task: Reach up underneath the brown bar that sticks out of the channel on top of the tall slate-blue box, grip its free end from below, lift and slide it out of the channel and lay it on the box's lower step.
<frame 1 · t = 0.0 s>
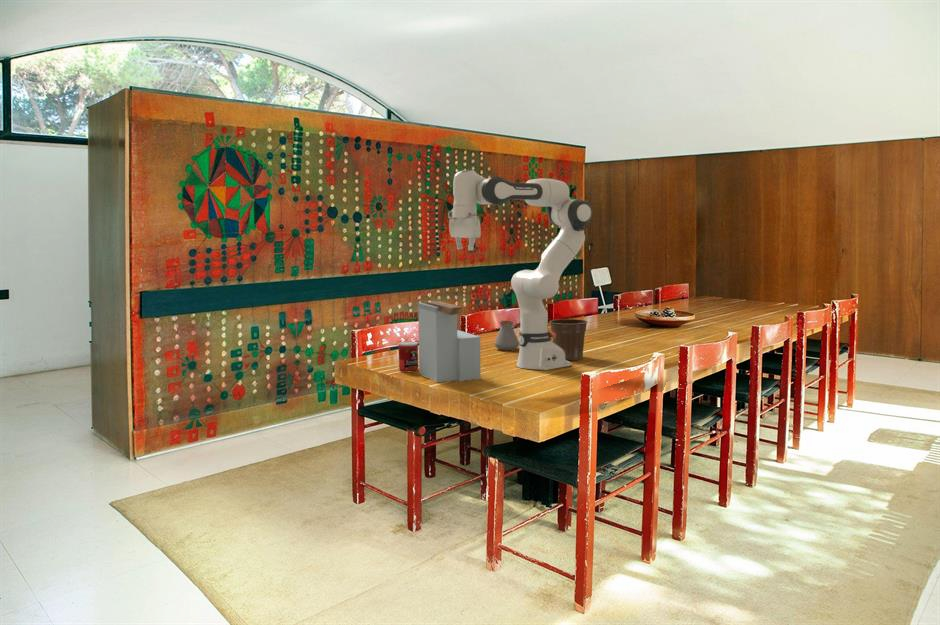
hand: (465, 249, 271), 48 cm above the table, tool pointing down, fingers open, 8 cm apart
plant pot: (568, 358, 308), on the table
coffee pot: (512, 351, 325), on the table
canned food: (408, 370, 285), on the table
brown bar: (443, 311, 263), point 26 cm above the table, touching step box
step box: (447, 375, 274), on the table
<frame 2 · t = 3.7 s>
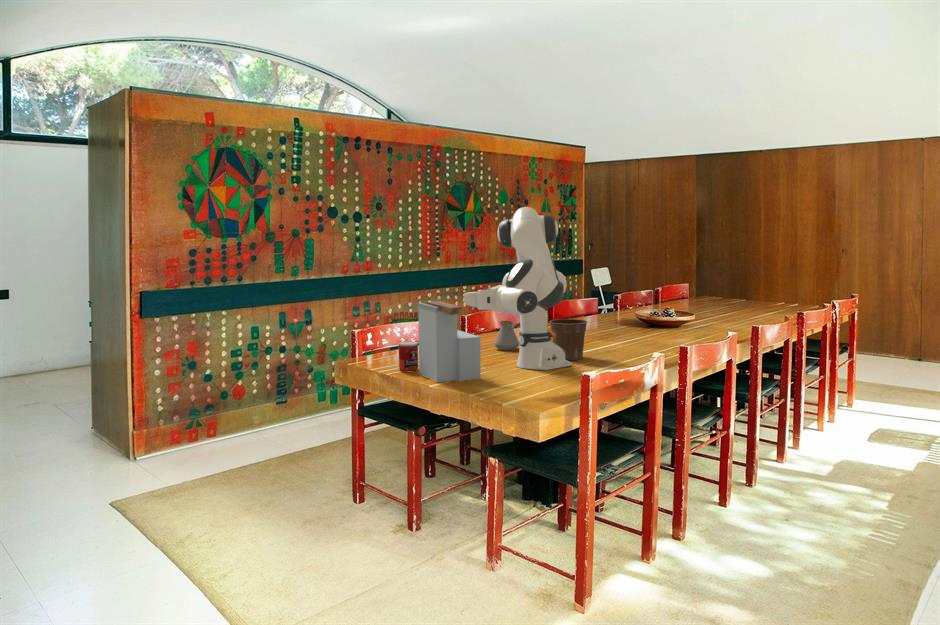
hand: (483, 295, 243), 33 cm above the table, tool horizontal, fingers open, 8 cm apart
nothing on the table moved.
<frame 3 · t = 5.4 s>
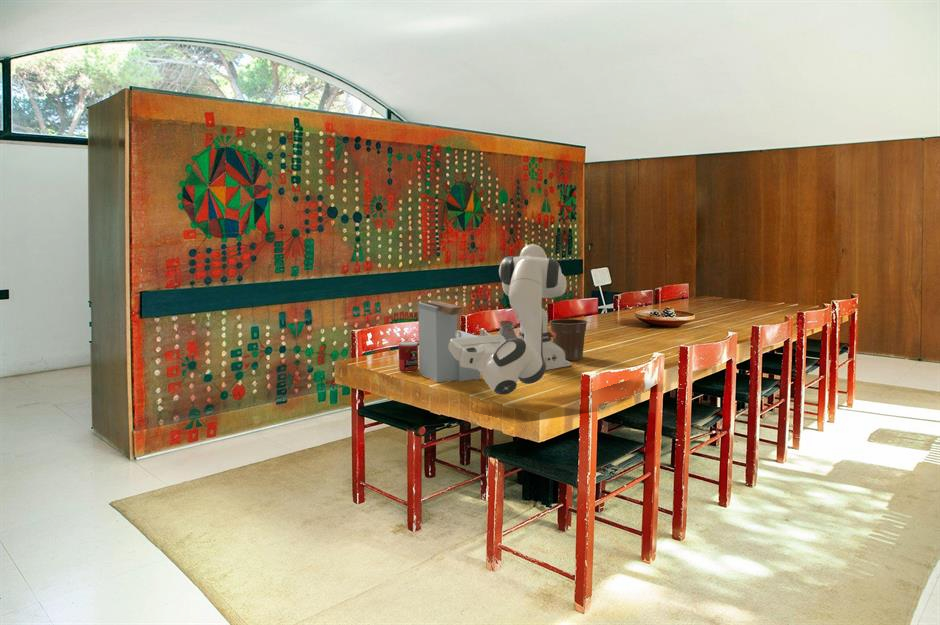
hand: (469, 332, 244), 21 cm above the table, tool pointing upward, fingers open, 8 cm apart
nothing on the table moved.
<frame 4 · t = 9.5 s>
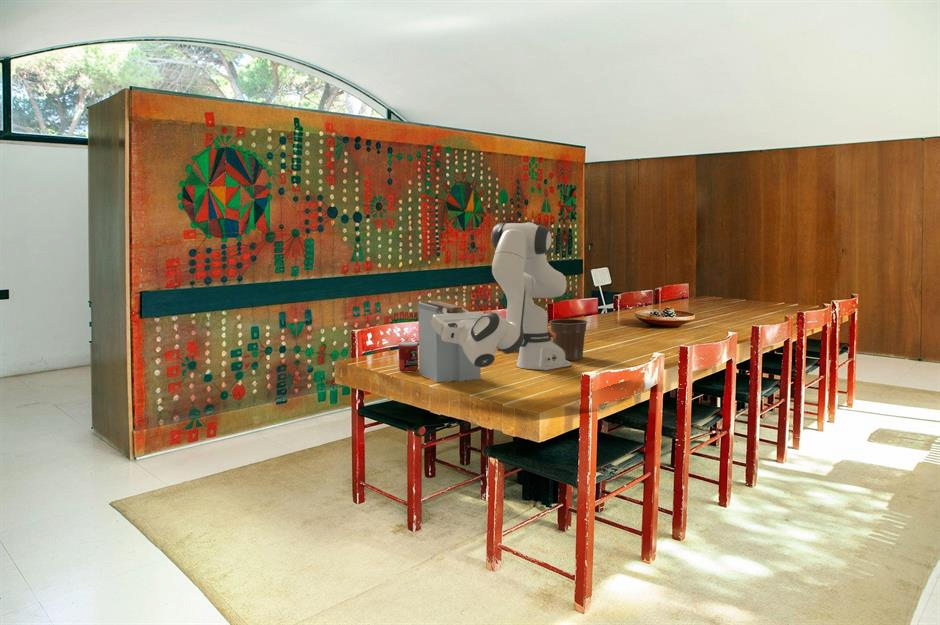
hand: (452, 308, 256), 28 cm above the table, tool pointing upward, fingers closed on brown bar, 4 cm apart
brown bar: (443, 311, 263), point 26 cm above the table, touching gripper, step box
everything else where it was.
when the fingers open (19 cm above the table, at t = 20.1 s): brown bar drops 2 cm, resting on step box.
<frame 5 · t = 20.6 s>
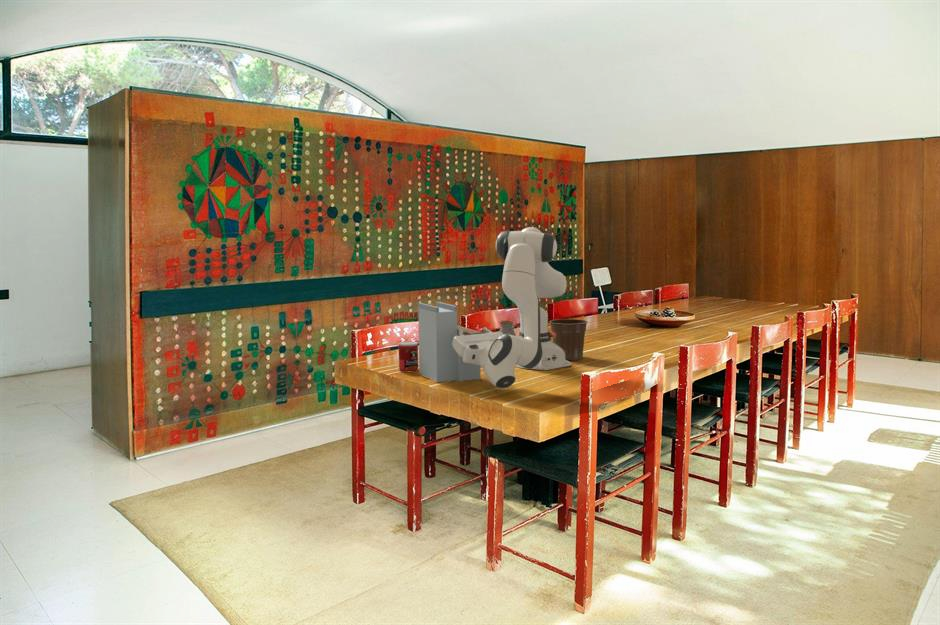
hand: (472, 329, 262), 19 cm above the table, tool pointing upward, fingers open, 8 cm apart
brown bar: (463, 335, 269), point 16 cm above the table, touching step box
everything else where it was.
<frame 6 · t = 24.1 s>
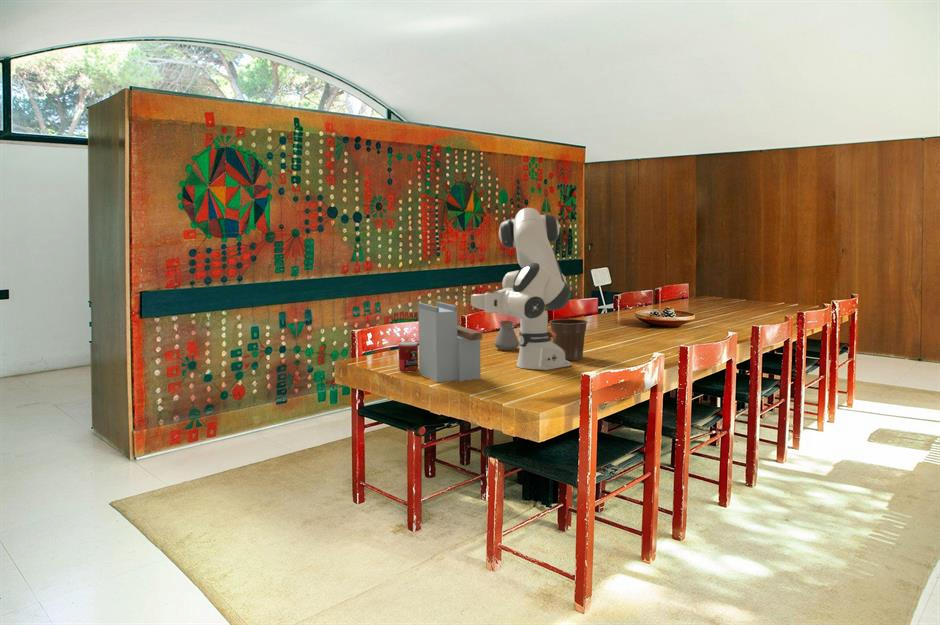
hand: (490, 296, 244), 33 cm above the table, tool horizontal, fingers open, 8 cm apart
nothing on the table moved.
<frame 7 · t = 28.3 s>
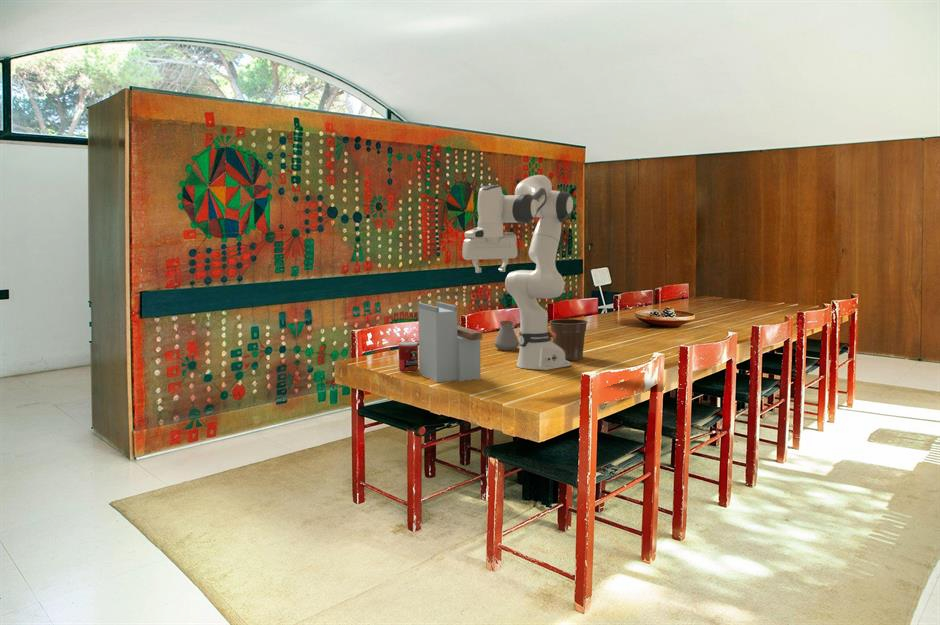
hand: (490, 272, 249), 41 cm above the table, tool pointing down, fingers open, 8 cm apart
nothing on the table moved.
at the end: brown bar inside the target area (3.4 cm from its centre), point 16.0 cm above the table; brown bar tilted 0°; the gripper is holding nothing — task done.
